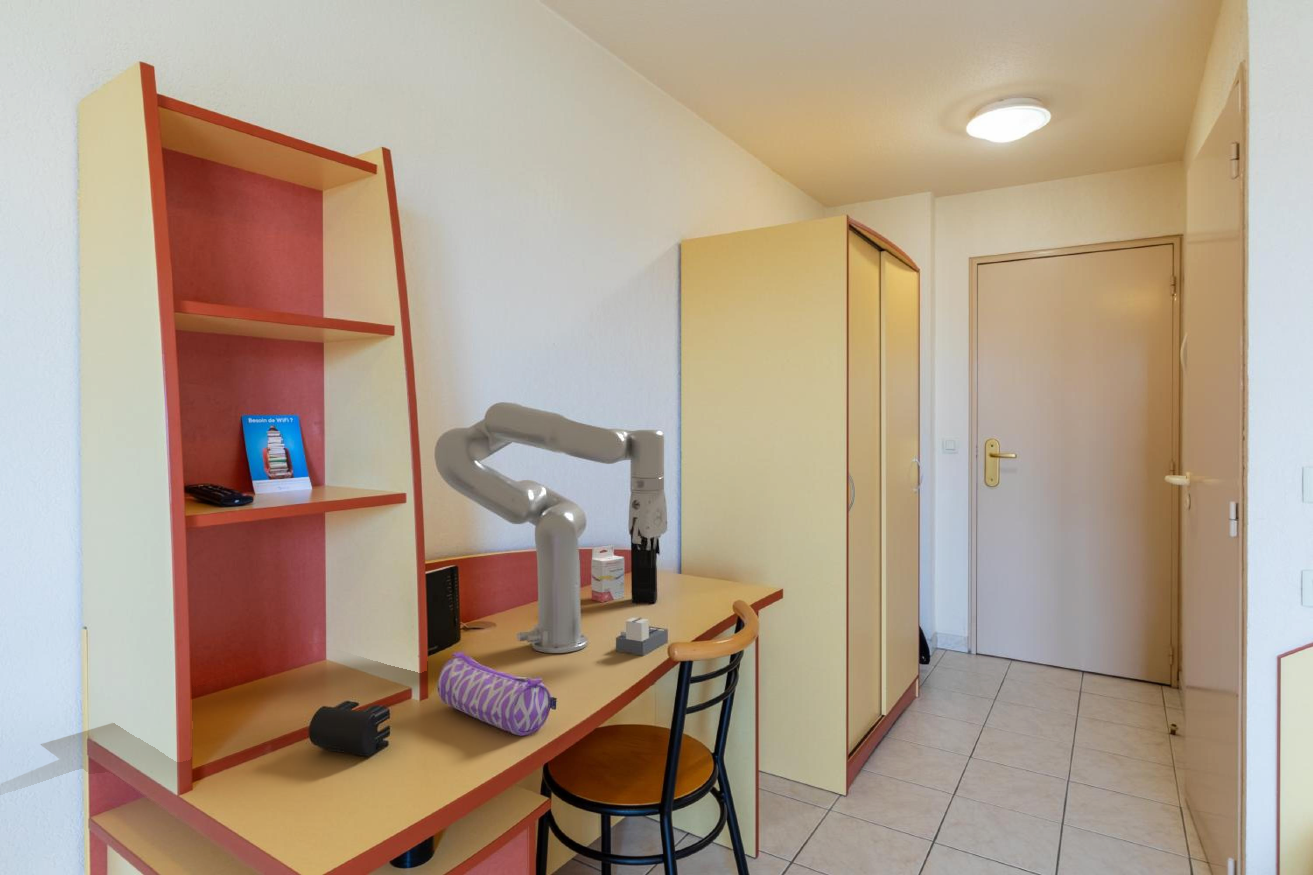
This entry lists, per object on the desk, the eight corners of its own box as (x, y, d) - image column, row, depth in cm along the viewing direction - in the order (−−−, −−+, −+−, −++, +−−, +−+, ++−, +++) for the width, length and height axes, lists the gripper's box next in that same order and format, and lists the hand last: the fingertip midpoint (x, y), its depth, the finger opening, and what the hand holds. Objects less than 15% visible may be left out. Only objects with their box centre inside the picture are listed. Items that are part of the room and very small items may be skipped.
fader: (641, 641, 156) (641, 622, 156) (625, 638, 158) (625, 620, 158) (649, 637, 158) (648, 618, 158) (633, 635, 160) (633, 616, 160)
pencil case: (558, 726, 122) (557, 670, 121) (517, 746, 114) (516, 687, 114) (472, 696, 135) (471, 646, 134) (430, 713, 127) (429, 660, 127)
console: (643, 655, 156) (643, 637, 156) (616, 650, 160) (615, 633, 160) (667, 641, 166) (667, 624, 166) (641, 637, 169) (641, 620, 169)
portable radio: (661, 598, 206) (660, 511, 205) (659, 604, 200) (658, 513, 199) (633, 598, 206) (632, 510, 206) (630, 603, 200) (629, 513, 200)
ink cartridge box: (602, 603, 201) (601, 550, 201) (591, 599, 205) (590, 548, 205) (625, 597, 207) (624, 546, 207) (614, 594, 211) (613, 544, 211)
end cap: (308, 756, 111) (307, 713, 111) (341, 737, 118) (340, 696, 118) (361, 765, 108) (360, 721, 108) (392, 745, 115) (392, 703, 115)
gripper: (644, 488, 153) (644, 575, 154) (677, 483, 166) (677, 562, 167) (614, 487, 157) (614, 571, 157) (649, 481, 170) (649, 559, 170)
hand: (646, 566), depth 162 cm, fingers closed
